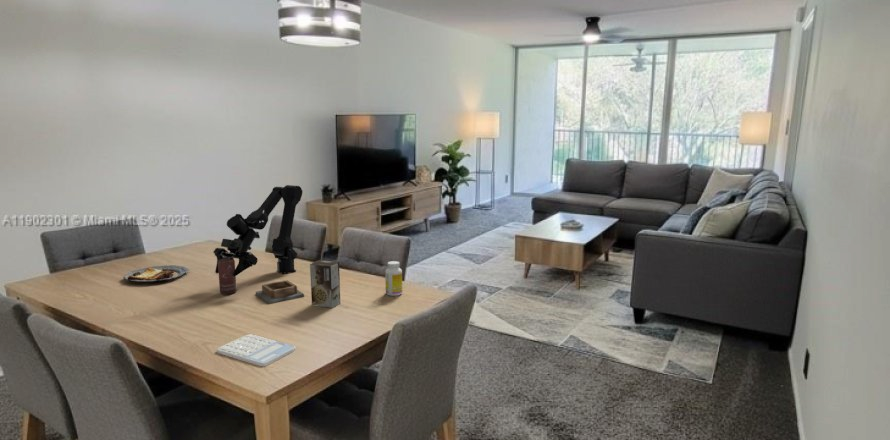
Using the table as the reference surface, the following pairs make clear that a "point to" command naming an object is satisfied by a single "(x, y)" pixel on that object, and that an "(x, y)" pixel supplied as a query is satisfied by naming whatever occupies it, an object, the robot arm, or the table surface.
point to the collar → (279, 292)
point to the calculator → (256, 350)
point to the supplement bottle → (393, 279)
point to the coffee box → (325, 283)
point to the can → (227, 276)
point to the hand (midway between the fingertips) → (224, 274)
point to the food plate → (155, 273)
